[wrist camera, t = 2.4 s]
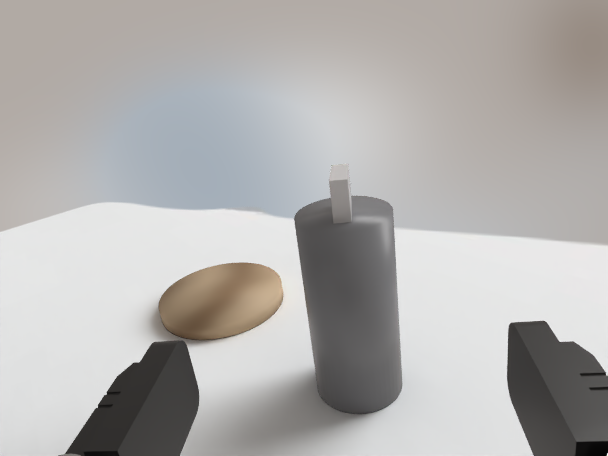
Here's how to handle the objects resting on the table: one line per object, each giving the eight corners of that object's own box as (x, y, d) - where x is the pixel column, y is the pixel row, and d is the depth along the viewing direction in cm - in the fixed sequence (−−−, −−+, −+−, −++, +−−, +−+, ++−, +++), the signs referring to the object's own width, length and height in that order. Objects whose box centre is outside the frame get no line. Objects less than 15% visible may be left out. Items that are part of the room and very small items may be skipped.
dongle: (314, 414, 25) (282, 193, 20) (320, 356, 29) (294, 162, 24) (406, 412, 24) (394, 183, 20) (398, 354, 28) (387, 153, 24)
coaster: (142, 342, 33) (138, 330, 32) (184, 276, 41) (182, 266, 40) (273, 336, 31) (271, 323, 31) (290, 270, 40) (288, 259, 39)
